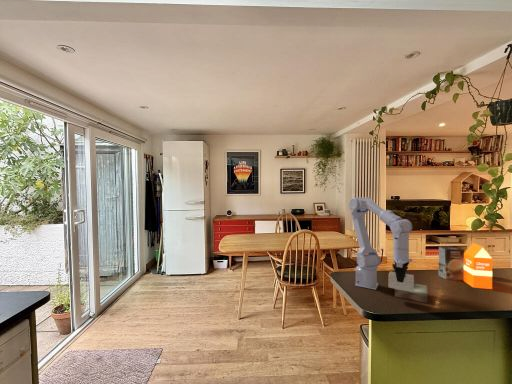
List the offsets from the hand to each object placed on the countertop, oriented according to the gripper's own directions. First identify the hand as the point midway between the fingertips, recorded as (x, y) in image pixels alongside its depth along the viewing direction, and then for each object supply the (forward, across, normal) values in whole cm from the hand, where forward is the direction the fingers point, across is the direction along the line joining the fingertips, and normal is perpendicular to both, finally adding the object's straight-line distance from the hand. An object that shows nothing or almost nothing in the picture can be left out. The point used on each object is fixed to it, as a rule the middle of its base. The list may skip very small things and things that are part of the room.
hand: (400, 279), depth 106 cm
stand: (+9, +9, -3) cm, 14 cm away
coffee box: (+10, +46, -20) cm, 52 cm away
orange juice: (+10, +42, -30) cm, 52 cm away
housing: (+3, 0, 0) cm, 3 cm away
